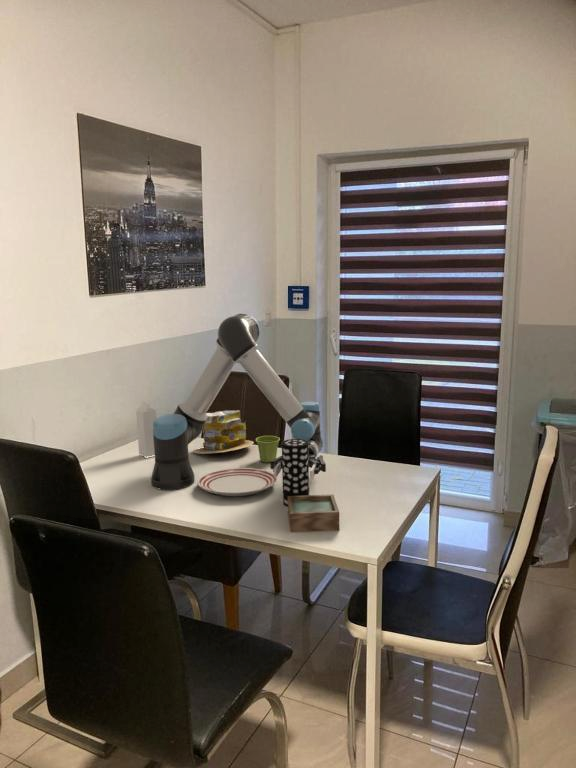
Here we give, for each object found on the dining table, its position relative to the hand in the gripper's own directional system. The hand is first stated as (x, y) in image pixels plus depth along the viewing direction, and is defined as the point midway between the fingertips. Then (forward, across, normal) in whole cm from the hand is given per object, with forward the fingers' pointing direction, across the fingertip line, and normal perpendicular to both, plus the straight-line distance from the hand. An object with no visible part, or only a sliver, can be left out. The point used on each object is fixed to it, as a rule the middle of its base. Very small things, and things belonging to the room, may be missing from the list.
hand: (292, 474), depth 195 cm
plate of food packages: (-56, +41, -11) cm, 71 cm away
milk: (-46, +69, -11) cm, 84 cm away
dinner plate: (-16, +23, -12) cm, 30 cm away
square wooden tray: (+9, -8, -11) cm, 16 cm away
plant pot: (-46, +20, -11) cm, 52 cm away
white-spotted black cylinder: (-4, 0, -11) cm, 12 cm away
